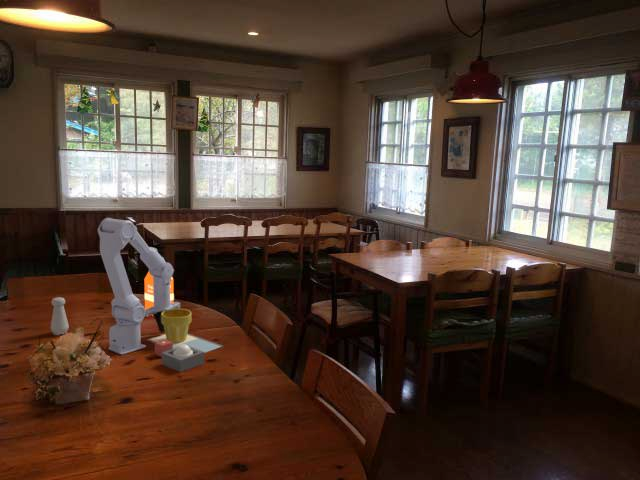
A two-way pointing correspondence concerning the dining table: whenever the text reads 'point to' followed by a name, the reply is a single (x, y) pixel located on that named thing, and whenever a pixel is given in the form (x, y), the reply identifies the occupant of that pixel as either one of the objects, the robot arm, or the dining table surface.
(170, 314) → the plant pot
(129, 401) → the dining table surface
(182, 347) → the dome button
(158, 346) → the red die
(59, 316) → the salt shaker
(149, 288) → the orange juice
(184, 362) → the dome base
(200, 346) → the game board
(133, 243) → the robot arm
